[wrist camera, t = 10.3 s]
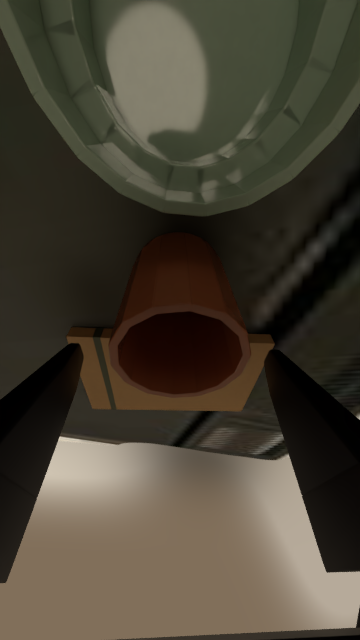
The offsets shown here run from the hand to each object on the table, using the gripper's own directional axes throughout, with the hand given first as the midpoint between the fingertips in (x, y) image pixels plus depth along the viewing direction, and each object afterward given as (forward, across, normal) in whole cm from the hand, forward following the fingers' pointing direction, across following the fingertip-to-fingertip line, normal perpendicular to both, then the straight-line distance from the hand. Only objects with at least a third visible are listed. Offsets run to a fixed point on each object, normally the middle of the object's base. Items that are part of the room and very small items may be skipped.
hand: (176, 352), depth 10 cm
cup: (+8, 0, 0) cm, 8 cm away
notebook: (+8, 0, +12) cm, 14 cm away
